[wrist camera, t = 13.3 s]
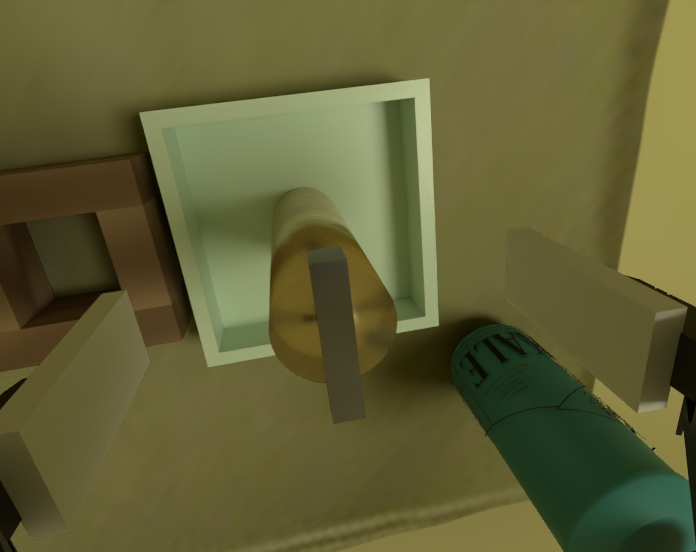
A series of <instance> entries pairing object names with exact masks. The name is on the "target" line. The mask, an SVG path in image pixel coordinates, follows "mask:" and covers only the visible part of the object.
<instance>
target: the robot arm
mask: <svg viewBox="0 0 696 552" xmlns="http://www.w3.org/2000/svg"><path fill="white" fill-rule="evenodd" d="M505 300H507V301H508V302H509V303H510V304H511V305H512V306H514V307H515V308H516V309H517V310H518V311H519V312H521V313H522V314H523V315H524V316H525V317H526V318H527V319H529V320H530V321H531V322H532V323H533V324H534V325H536V326H537V327H538V328H539V329H540V330H541V331H543V332H544V333H545V334H546V335H547V336H548V337H550V338H551V339H552V340H553V341H554V342H555V343H556V344H558V345H559V346H560V347H561V348H562V349H563V350H565V351H566V352H567V353H568V354H569V355H570V356H572V357H573V358H574V359H575V360H576V361H577V362H579V363H580V364H581V365H582V366H583V367H584V368H585V369H587V370H588V371H589V372H590V373H591V374H592V375H594V376H595V377H596V378H597V379H598V380H599V381H601V382H602V383H603V384H604V385H605V386H606V387H608V388H609V389H610V390H611V391H612V392H614V393H615V394H616V395H617V396H618V397H619V398H620V399H622V400H623V401H624V402H625V403H626V404H627V405H628V406H630V407H631V408H632V409H633V410H634V411H635V412H637V413H642V412H646V411H651V410H656V409H661V408H665V407H666V406H667V401H668V397H669V392H670V387H671V386H672V387H673V388H675V389H676V390H678V391H679V392H680V393H682V394H683V395H684V400H683V404H682V408H681V413H680V417H679V421H678V426H677V430H676V434H677V435H682V432H683V430H684V439H685V447H686V457H687V467H688V476H689V486H690V495H691V505H692V514H693V524H694V533H695V543H696V307H695V306H693V305H691V304H689V303H687V302H684V301H683V300H680V299H678V298H676V297H674V296H672V295H667V293H666V292H664V291H662V290H660V289H658V288H656V289H655V287H654V286H652V285H650V284H648V283H646V282H644V281H642V280H640V279H636V278H633V277H629V276H626V275H623V274H621V273H619V272H617V271H615V270H613V269H611V268H609V267H607V266H605V265H603V264H601V263H599V262H597V261H595V260H593V259H591V258H589V257H587V256H585V255H583V254H581V253H579V252H577V251H575V250H573V249H571V248H569V247H567V246H565V245H563V244H561V243H559V242H557V241H555V240H553V239H551V238H549V237H547V236H545V235H543V234H541V233H539V232H537V231H535V230H533V229H531V228H529V227H522V228H516V229H509V230H507V255H506V285H505ZM149 363H150V359H149V356H148V353H147V350H146V347H145V344H144V341H143V338H142V335H141V332H140V329H139V326H138V323H137V320H136V317H135V314H134V311H133V308H132V305H131V302H130V299H129V296H128V293H127V290H122V291H116V292H110V293H103V294H101V295H100V296H99V298H98V299H97V300H96V301H95V302H94V303H93V304H92V306H91V307H90V308H89V309H88V310H87V311H86V312H85V314H84V315H83V316H82V317H81V318H80V319H79V320H78V322H77V323H76V324H75V325H74V326H73V327H72V328H71V330H70V331H69V332H68V333H67V334H66V335H65V336H64V338H63V339H62V340H61V341H60V342H59V343H58V344H57V346H56V347H55V348H54V349H53V350H52V351H51V352H50V354H49V355H48V356H47V357H46V358H45V359H44V360H43V362H42V363H41V364H40V365H39V366H38V367H37V368H36V370H35V371H34V372H33V373H32V374H31V375H30V376H29V378H25V379H22V380H20V381H19V382H18V383H16V384H15V385H13V386H12V387H10V388H9V389H8V390H6V391H5V392H3V393H2V394H1V395H0V552H17V550H16V548H15V547H14V545H13V543H12V542H11V540H10V538H11V536H12V535H13V533H14V531H15V530H16V528H17V526H18V525H19V523H20V521H21V522H22V524H23V526H24V528H25V529H26V531H27V533H28V535H29V536H30V538H31V540H32V541H33V540H38V539H43V538H47V537H52V536H57V535H62V534H66V533H70V532H71V530H72V528H73V526H74V524H75V521H76V519H77V517H78V515H79V513H80V511H81V509H82V506H83V504H84V502H85V500H86V498H87V496H88V494H89V491H90V489H91V487H92V485H93V483H94V481H95V479H96V476H97V474H98V472H99V470H100V468H101V466H102V464H103V461H104V459H105V457H106V455H107V453H108V451H109V449H110V446H111V444H112V442H113V440H114V438H115V436H116V434H117V431H118V429H119V427H120V425H121V423H122V421H123V419H124V416H125V414H126V412H127V410H128V408H129V406H130V404H131V401H132V399H133V397H134V395H135V393H136V391H137V389H138V386H139V384H140V382H141V380H142V378H143V376H144V374H145V371H146V369H147V367H148V365H149Z"/></svg>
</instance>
